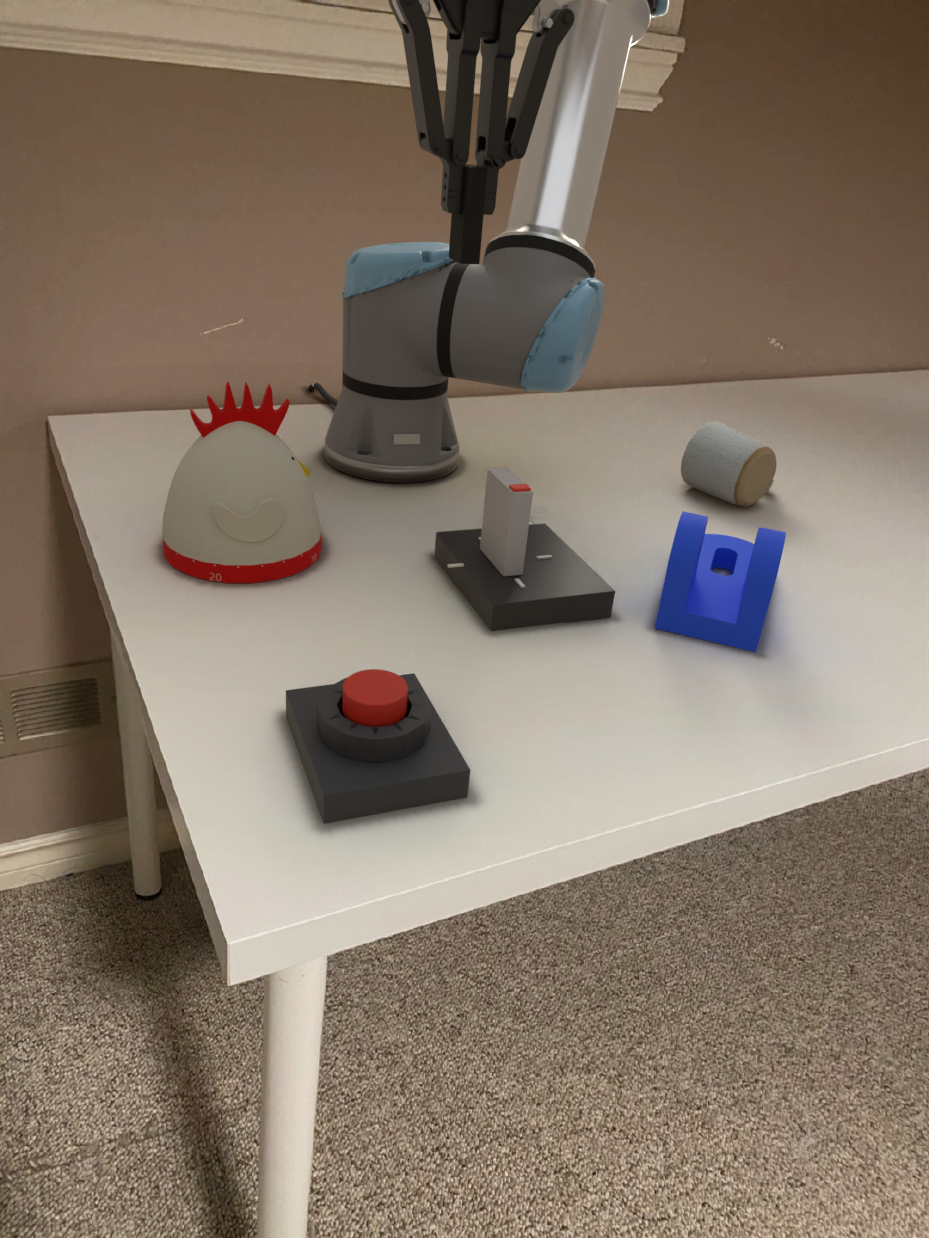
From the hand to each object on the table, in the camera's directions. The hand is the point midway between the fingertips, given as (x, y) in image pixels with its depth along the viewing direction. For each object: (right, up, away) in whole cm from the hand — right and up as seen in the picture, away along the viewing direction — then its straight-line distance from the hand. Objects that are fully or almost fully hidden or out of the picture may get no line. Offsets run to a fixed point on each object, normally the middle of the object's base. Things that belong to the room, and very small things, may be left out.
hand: (463, 260), depth 72 cm
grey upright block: (+3, -22, +10) cm, 25 cm away
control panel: (+5, -24, +12) cm, 27 cm away
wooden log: (+30, -13, +36) cm, 49 cm away
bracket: (+23, -25, +14) cm, 37 cm away
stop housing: (-6, -36, -11) cm, 38 cm away
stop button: (-6, -33, -12) cm, 36 cm away
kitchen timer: (-20, -21, +14) cm, 32 cm away
